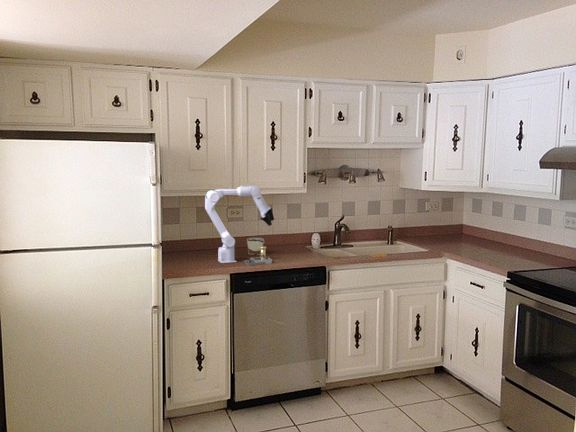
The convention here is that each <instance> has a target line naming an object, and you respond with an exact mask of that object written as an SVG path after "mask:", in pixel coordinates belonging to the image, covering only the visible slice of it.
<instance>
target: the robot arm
mask: <svg viewBox="0 0 576 432" xmlns="http://www.w3.org/2000/svg"><path fill="white" fill-rule="evenodd" d="M228 195H232V196H234V195H237V196H238V197H252V199H253V202H254V203H255V206H256V207H257V209H258V211H259V213H260V216H261V217H260V220H261V221H263V222H264V223H265V224H267V226H268V227H269V226H272V225H273V223H272V222H273V221H274V220H275V218H274V217H275V216H274V213H273V208H272V207H271V206H269V205H270V204H269V205H268V204H267V202H266V200H265V198H264V197H263V195H262V193H261V189H260V188H259V187H258V186H255V185H247V186H244V185H240V186H238V187H237V188H218V189H214V190H212V189H211V190H208V191H207V192H206V194H205V197H204V209H205V211H206V213H207V216H209V218H210V220H211V222H212V224H213V225H214V227H215V228H216V230H217V232H218V233H219V236H220V238H221V243H222V246H221V247H218V250H217V253H218V254H217V256H218V257H217V261H218V262H219V263H221V264H229V263H230V264H231V263H237V260H236V259H235V244H236V239H235V238H234V237H233V236H232V235H231V234H230V232H228V230H227V228H226V226H225V225H224V224H225V223H223V221H222V219H221V218H220V216H219V214H218V213H217V211H216V209H215V207H216V204H217V203H218V202H219V200H220V199H222V198H223V197H224V196H228Z"/></svg>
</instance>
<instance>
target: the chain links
mask: <svg viewBox="0 0 576 432" xmlns="http://www.w3.org/2000/svg"><path fill="white" fill-rule="evenodd" d="M272 263H273V259H272V258H270V257H269V256H265V257H261V256H257V257H249V259H246V260H245V259H243V264H246V265H247V266H256V265H267V264H272Z"/></svg>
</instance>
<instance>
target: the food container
mask: <svg viewBox="0 0 576 432" xmlns="http://www.w3.org/2000/svg"><path fill="white" fill-rule="evenodd" d="M246 242H247V252H248V255H254V254H257V255H256V256H258V255H259V256H261V249H260V247H261V246H264V244H265V243H266V242H265V239H264V238H262V237H248V238H247V239H246Z"/></svg>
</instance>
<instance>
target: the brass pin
mask: <svg viewBox="0 0 576 432" xmlns="http://www.w3.org/2000/svg"><path fill="white" fill-rule="evenodd" d="M260 249H261V255H260V257H266V249H267V246H264V245H263V246H261V247H260Z"/></svg>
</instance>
